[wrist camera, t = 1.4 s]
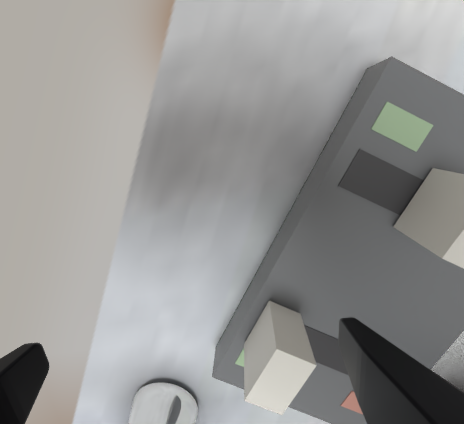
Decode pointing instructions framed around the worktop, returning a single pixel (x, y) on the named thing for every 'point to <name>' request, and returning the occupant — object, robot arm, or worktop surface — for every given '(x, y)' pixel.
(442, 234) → the off-white switch lever
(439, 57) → the worktop surface
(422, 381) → the robot arm
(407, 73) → the switch panel
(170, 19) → the worktop surface
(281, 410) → the off-white block
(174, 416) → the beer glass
